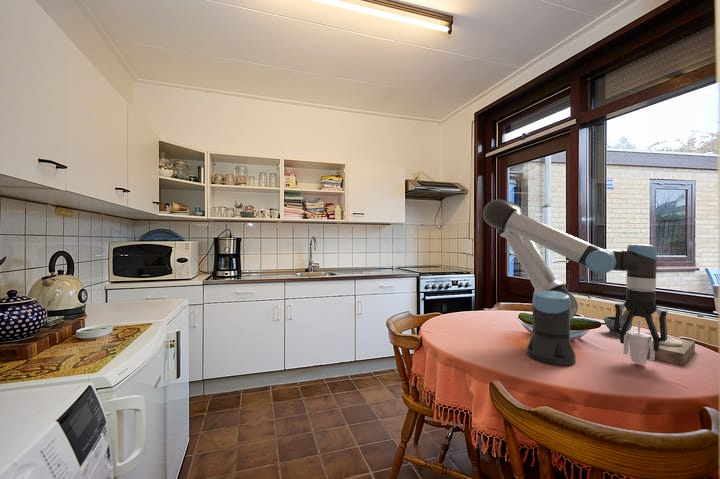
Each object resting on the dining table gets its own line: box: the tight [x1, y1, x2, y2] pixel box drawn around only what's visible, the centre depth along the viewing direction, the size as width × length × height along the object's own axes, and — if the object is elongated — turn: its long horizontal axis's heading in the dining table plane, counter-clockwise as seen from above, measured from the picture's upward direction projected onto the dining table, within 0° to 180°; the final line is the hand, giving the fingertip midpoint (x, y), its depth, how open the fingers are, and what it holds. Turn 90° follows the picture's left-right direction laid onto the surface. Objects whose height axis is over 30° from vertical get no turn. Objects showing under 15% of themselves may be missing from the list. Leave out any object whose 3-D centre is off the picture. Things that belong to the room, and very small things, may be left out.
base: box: [645, 332, 696, 366], centre depth 120 cm, size 14×22×5 cm, turn 126°
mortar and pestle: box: [603, 308, 633, 337], centre depth 142 cm, size 11×9×12 cm
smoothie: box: [627, 320, 652, 365], centre depth 108 cm, size 6×6×14 cm
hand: (638, 356), depth 108 cm, fingers closed on smoothie, 6 cm apart
